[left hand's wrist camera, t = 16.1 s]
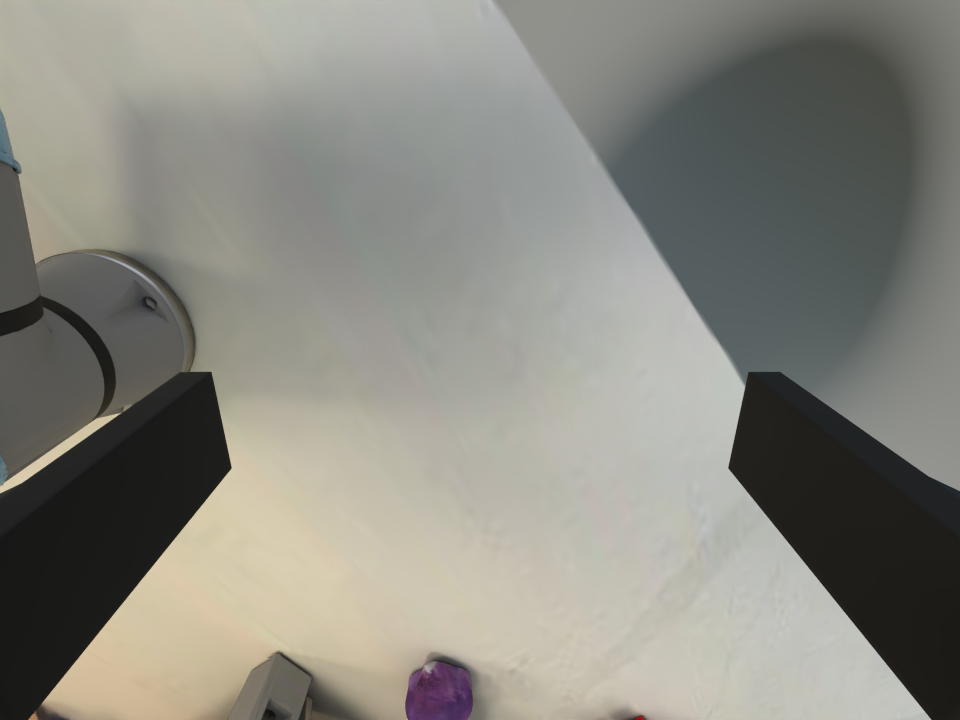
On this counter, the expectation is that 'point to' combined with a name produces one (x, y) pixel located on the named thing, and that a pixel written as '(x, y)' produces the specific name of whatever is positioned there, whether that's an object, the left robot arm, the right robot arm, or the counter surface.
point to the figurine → (439, 693)
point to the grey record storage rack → (274, 693)
